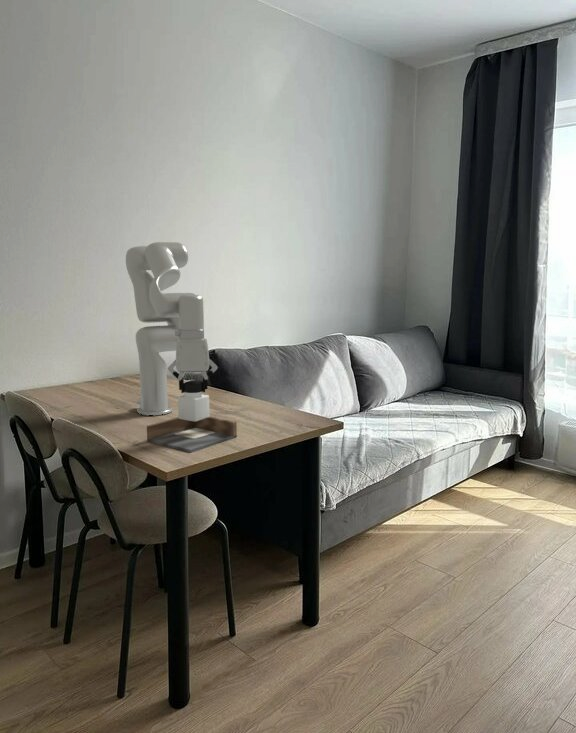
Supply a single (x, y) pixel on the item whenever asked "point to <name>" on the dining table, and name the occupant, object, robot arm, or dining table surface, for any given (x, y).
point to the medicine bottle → (193, 402)
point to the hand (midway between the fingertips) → (193, 391)
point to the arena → (191, 433)
